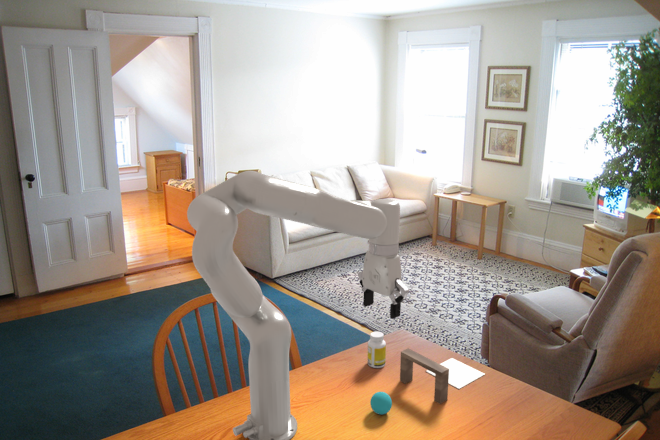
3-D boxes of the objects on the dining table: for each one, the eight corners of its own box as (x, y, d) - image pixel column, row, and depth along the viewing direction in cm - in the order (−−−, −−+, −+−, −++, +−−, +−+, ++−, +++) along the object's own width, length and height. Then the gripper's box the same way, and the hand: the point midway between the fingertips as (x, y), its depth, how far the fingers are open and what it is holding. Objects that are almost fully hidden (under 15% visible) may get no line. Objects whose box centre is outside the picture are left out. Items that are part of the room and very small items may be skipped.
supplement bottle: (388, 362, 159) (389, 332, 157) (380, 370, 155) (381, 340, 152) (372, 357, 162) (373, 328, 159) (364, 365, 157) (364, 335, 155)
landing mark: (458, 389, 145) (459, 388, 145) (425, 371, 154) (425, 370, 154) (485, 374, 152) (485, 373, 152) (451, 358, 161) (451, 357, 161)
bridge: (440, 404, 138) (441, 372, 136) (399, 380, 149) (400, 351, 147) (447, 399, 140) (449, 368, 137) (407, 377, 151) (408, 348, 148)
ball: (380, 421, 131) (381, 402, 130) (365, 411, 135) (366, 392, 134) (396, 413, 134) (396, 394, 133) (381, 403, 138) (381, 385, 137)
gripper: (349, 243, 137) (348, 304, 141) (398, 259, 124) (396, 326, 128) (370, 238, 141) (368, 297, 146) (419, 253, 129) (416, 318, 133)
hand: (381, 311), depth 137 cm, fingers open, 9 cm apart
